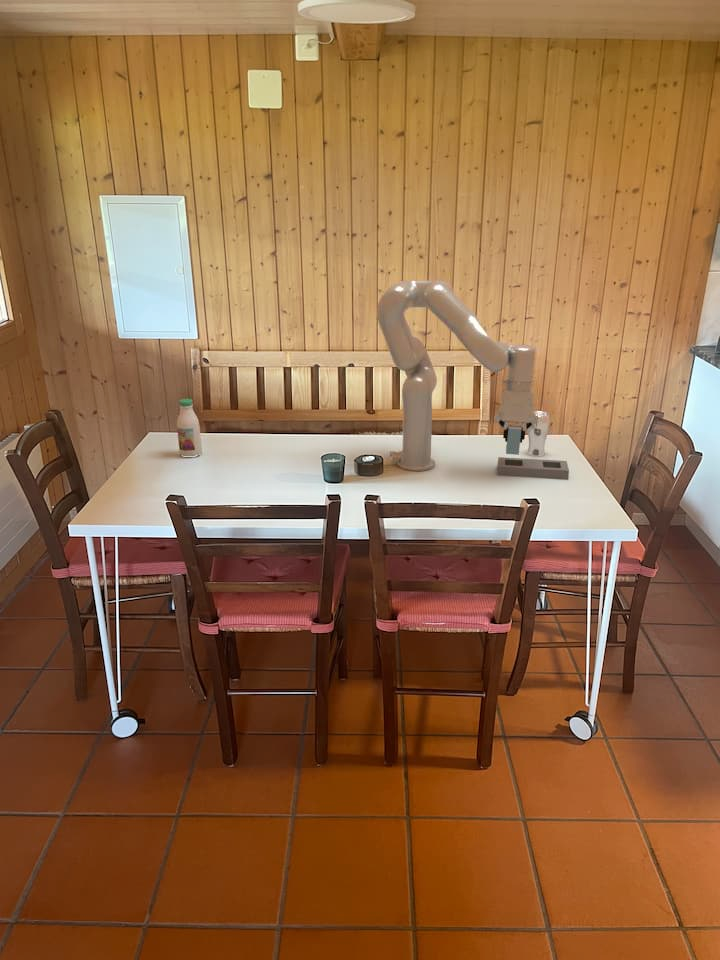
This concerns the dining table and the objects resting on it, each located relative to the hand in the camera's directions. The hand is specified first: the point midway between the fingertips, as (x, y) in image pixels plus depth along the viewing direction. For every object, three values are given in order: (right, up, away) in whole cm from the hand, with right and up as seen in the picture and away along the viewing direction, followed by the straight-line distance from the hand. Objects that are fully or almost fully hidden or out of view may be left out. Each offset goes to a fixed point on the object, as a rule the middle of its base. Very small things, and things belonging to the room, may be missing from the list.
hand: (513, 440), depth 224 cm
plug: (0, -4, +1) cm, 4 cm away
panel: (+7, -11, +3) cm, 13 cm away
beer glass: (+12, -4, +20) cm, 24 cm away
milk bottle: (-109, -4, +23) cm, 112 cm away
